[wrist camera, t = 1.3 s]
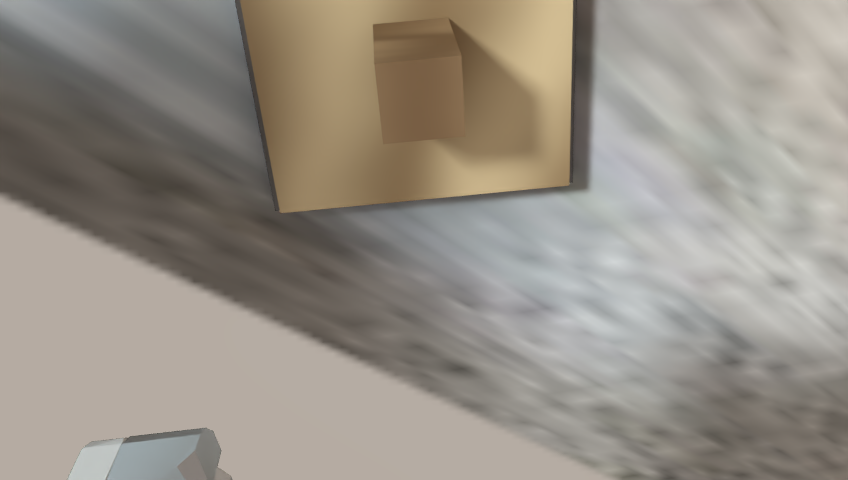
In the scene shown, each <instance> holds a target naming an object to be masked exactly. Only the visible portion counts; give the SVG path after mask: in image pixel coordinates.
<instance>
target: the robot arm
mask: <svg viewBox="0 0 848 480" xmlns="http://www.w3.org/2000/svg"><path fill="white" fill-rule="evenodd" d="M220 454H221V449H220V446H219V444H218V442H217V439H216V437H215V434H214V432H213V431H212V430H209V429H207V428H200V429H191V430H183V431H174V432H165V433H157V434H148V435H139V436H130V437H129V438H119V439H110V440H102V441H93V442H90V443H89V444H88V445H87V446H85V447H84V448H82V450H81V452H80V453H79V455H78V458H77V460H76V462H75V464H74V466H73V468H72V471H71V472H70V474H69V477H68V479H67V480H232V478H231V476H230V475H228V474H227V473H225V472H224V471H222V470H221V469H219V468H218V467H217V466H218V462H219V458H220Z"/></svg>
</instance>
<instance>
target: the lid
mask: <svg viewBox="0 0 848 480" xmlns="http://www.w3.org/2000/svg"><path fill="white" fill-rule="evenodd" d="M240 3H241V8H242V13H243V19H244V24H245V29H246V35H247V40H248V45H249V50H250V56H251V61H252V66H253V72H254V77H255V82H256V88H257V93H258V98H259V103H260V109H261V114H262V119H263V125H264V130H265V135H266V140H267V146H268V151H269V156H270V162H271V167H272V172H273V178H274V183H275V188H276V193H277V199H278V204H279V209H280V213H289V212H299V211H309V210H320V209H330V208H341V207H351V206H361V205H372V204H382V203H392V202H403V201H413V200H424V199H434V198H444V197H455V196H465V195H475V194H486V193H496V192H507V191H517V190H527V189H538V188H548V187H558V186H569V178H570V129H571V80H572V30H573V0H240Z"/></svg>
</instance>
